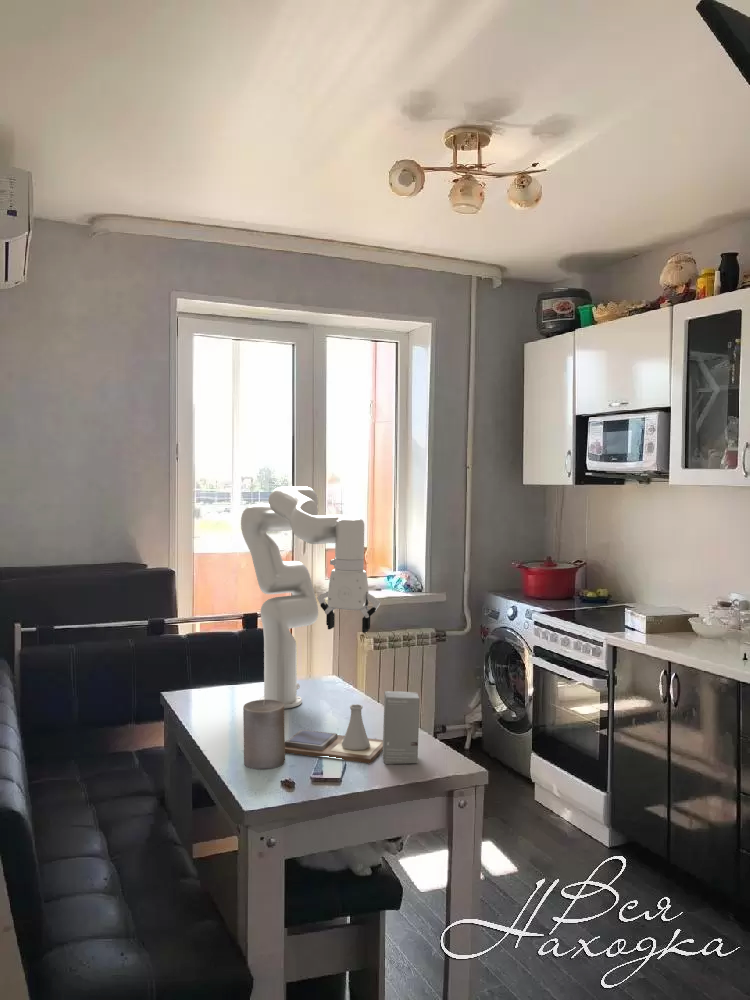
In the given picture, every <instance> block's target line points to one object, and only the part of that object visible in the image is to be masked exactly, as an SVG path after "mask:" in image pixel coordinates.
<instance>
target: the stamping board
mask: <svg viewBox="0 0 750 1000" xmlns="http://www.w3.org/2000/svg"><path fill="white" fill-rule="evenodd" d="M344 737H345V734H344V735H343V734H338V733H335V732H334V733H333V732H326V731H316V730H308V729H307V730H306V729H300V730H299V731H297V732H295V734H293V735H292V736H291V737H289V738H288V739H286V740H285V754H290V753H294V754H293V755H298V754H302V755H301V756H306V755H309V756H308V757H314V756H329V757H336V758H342V759H344V760H343V761H347V762H354V763H355V762H356V763H364V764H372V762H374V761H375V759H376V758H377V757H378V756H379V755H380V754H381V753H383V751H382V750H383V739H377V738H369V737H368V740H369V743H370V747H368V748H366V749H365V750H350V749H345V748H343V747H342V742H343V739H344Z"/></svg>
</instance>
